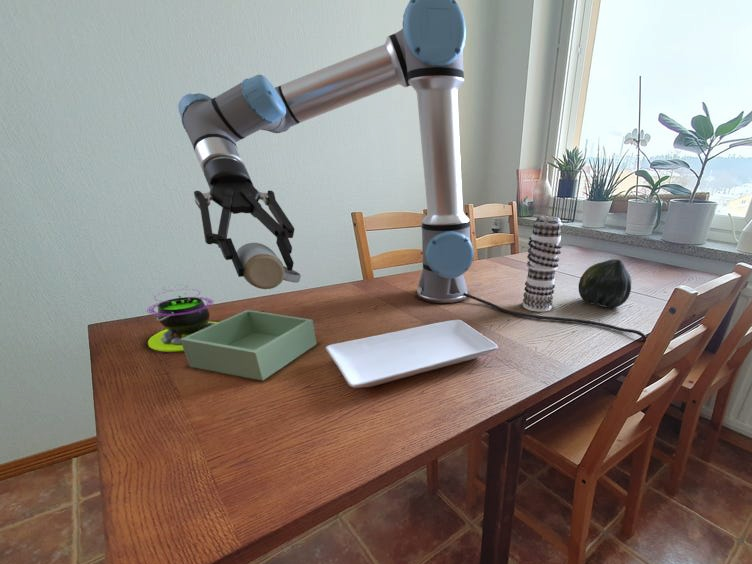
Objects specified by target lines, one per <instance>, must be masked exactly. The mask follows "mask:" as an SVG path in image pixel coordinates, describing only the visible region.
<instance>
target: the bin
mask: <svg viewBox="0 0 752 564" xmlns="http://www.w3.org/2000/svg"><path fill="white" fill-rule="evenodd" d="M217 322H218V321H217ZM180 341H181V344H182V346H183V349H184V351H183V352H184V354H185V357H186V360H187V362H188V365H189V367H190V368H196V369H200V370H205V371H210V372H216V373H222V374H226V375H231V376H236V377H242V378H246V379H252V380H257V381H265V380H266V379H267V378H269V377H270V376H273V374H275V373H276V372H278V371H279V370H281V369H283V368H284V367H285V366H287V365H288V364H290V363H291V362H292V361H294V360H296V359H297V358H299V357H300V356H301V355H303V354H305V353H306V352H308V351H309V350H311V349H312V348H313V347H314V346H317V344H318V343H317V338H316V332H315V327H314V320H313V319H312V318H311V319H310V318H304V317H298V316H292V315H291V316H290V315H285V314H277V313H274V312H273V313H272V312H265V311H259V310H252V309H246V310H243V311H241V312H239V313H236V314H234V315H232V316H230V317H227V318H225V319H223V320H220V321H219V322H218V323H216V324H214V325H211V326H209V327H207V328H204V329H202V330H200V331H198V332H195V333H193V334H191V335H188V336H186V337H184V338H182V339H180Z"/></svg>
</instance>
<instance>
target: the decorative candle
mask: <svg viewBox="0 0 752 564" xmlns="http://www.w3.org/2000/svg"><path fill="white" fill-rule="evenodd" d="M532 224H533V225H532V233H531V237H530V236H529V238H528V240H529V241H528V243H527V245H528V246H529V248H528V249H527V253H528V254H527V255H526V259H528V261H527V262H526V266H527V269H528V270H527V275H526V281H525V283H524V286H525V287H524V290H523V291H525V292H524V293H523V294H522V295H523V299H522V302H523V304H522V307H523V308H524V309H526V310H528V311H532V312H537V313H542V312H543V313H545V312H549V311H550V310H552V305H553V300H554V295H553V294H554V293H555V290H554V289H555V287H556V285H555V280H556V279H555V275H556V271H557V270H558V267H559V264H558V262H559V261H560V258H559V257H558V256H559V255H561V254H562V252H561V250H560V249H562V248H563V246H562V245H561V239H562V235H561V233H562V227H563V226H564V223H563V222H562V221H561V218H560V217H558V216H553V215H539V216H538V217H537V218H536V219H535V220H533V221H532Z"/></svg>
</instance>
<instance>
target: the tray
mask: <svg viewBox="0 0 752 564" xmlns="http://www.w3.org/2000/svg"><path fill="white" fill-rule="evenodd" d="M498 349H499V346H498V344H497V343H495V342H493V341H492V340H491V339H489V338H488V337H486V336H484V334H482V333H480V332H479V331H477V329H475V328H473V327H472V326H470V325H469V324H467V323H466V322H465V321H463V320H461V319H451V320H446V321H440V322H435V323H430V324H425V325H420V326H416V327H411V328H406V329H401V330H396V331H391V332H386V333H382V334H377V335H372V336H367V337H363V338H357V339H352V340H348V341H344V342H336V343H332V344H329V345H326V346H325V350H326V352H327V354H328V355H329V356H330V358H331V359H332V361H333V362H334V364H335V365H336V367H337V368H338V370H339V371H340V373H341V375H342V376H343V378H344V380H345V381H346V383H347V384H348V386H349V387H351V388H354V389H355V388H356V389H360V388H372V387H376V386H379V385H383V384H387V383H391V382H394V381H398V380H401V379H405V378H408V377H413V376H415V375H419V374H423V373H427V372H430V371H435V370H438V369H442V368H445V367H449V366H453V365H457V364H460V363H465V362H468V361H473V360H475V359H478V358H479V357H482V356H486V355H488V354H490V353H492V352H495V351H497V350H498Z"/></svg>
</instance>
